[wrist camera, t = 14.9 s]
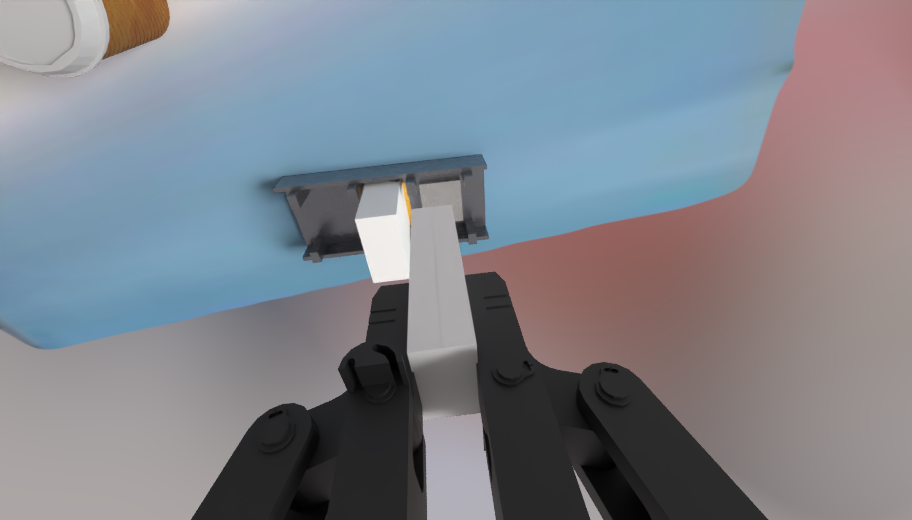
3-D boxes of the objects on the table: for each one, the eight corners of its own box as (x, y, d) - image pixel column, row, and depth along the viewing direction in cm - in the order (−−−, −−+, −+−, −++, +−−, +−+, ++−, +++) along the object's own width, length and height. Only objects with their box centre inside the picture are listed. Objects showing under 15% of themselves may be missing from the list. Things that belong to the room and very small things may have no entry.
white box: (381, 234, 46) (373, 282, 37) (367, 178, 41) (354, 219, 33) (411, 231, 46) (409, 278, 38) (400, 174, 41) (396, 214, 33)
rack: (312, 249, 47) (302, 271, 43) (282, 176, 41) (268, 194, 37) (484, 229, 48) (490, 249, 44) (481, 154, 42) (488, 169, 37)
